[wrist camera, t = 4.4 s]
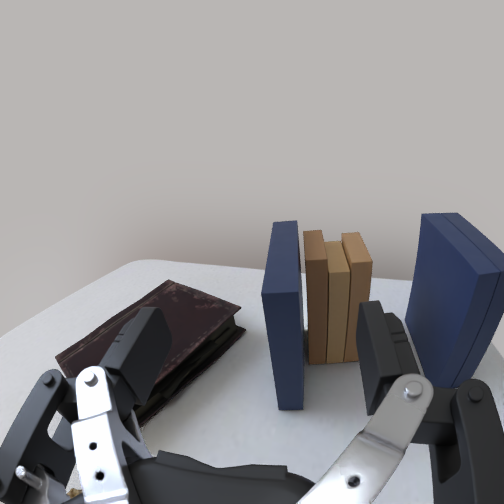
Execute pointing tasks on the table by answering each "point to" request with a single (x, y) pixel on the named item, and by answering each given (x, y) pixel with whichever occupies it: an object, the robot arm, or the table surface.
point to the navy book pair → (454, 298)
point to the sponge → (74, 492)
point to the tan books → (335, 294)
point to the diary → (183, 340)
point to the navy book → (285, 314)
